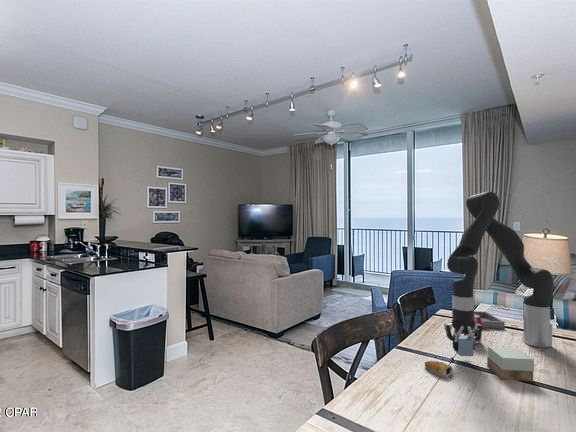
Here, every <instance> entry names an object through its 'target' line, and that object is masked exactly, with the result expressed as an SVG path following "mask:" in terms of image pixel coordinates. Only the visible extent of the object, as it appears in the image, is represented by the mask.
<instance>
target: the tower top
mask: <svg viewBox="0 0 576 432" xmlns="http://www.w3.org/2000/svg"><path fill="white" fill-rule="evenodd" d="M487 357H489V358H490V359H491V360H492V361H493V362H494V363H495V364H497V365H498V366H499V367H500V368H501V369H502V370H521V371H533V372H535V359H534V358H533V357H532V356H530V355H528V354H527V353H526V352H524V351H523V350H521V349H520V348H518V347H512V346H511V347H508V346H489V345H488V346H487Z"/></svg>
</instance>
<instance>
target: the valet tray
mask: <svg viewBox="0 0 576 432" xmlns="http://www.w3.org/2000/svg"><path fill="white" fill-rule="evenodd" d="M474 314H477V315H479V316H480V318H481V321H482V326H483V329H490V330H491V329H493V330H494V329H495V330H496V329H497V330H505V329H506V328H505V325H506V324H505V321H504V320H502V319H500V318H498V317H496V316H495V315H493V314H490V313H489V312H487V311H477V310H474Z"/></svg>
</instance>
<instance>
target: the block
mask: <svg viewBox="0 0 576 432" xmlns="http://www.w3.org/2000/svg"><path fill="white" fill-rule="evenodd" d="M457 342H458V352H456V351H455V350H454V349H453V351H454V352H455V353H456V354H457V355H458V356H459V357H474V350H473V340H472V339H471V338H469V337H468V336H464V335H460V337H459V339H458V341H457Z"/></svg>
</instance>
